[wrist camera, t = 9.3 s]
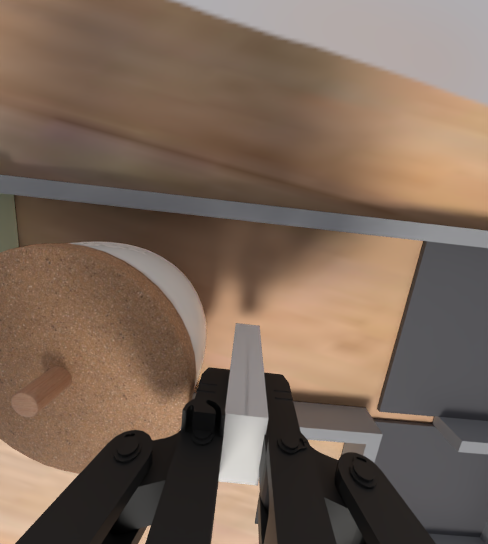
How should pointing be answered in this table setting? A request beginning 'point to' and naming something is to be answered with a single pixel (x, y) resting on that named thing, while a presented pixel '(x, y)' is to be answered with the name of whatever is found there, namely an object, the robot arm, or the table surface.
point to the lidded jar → (93, 348)
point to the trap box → (404, 362)
